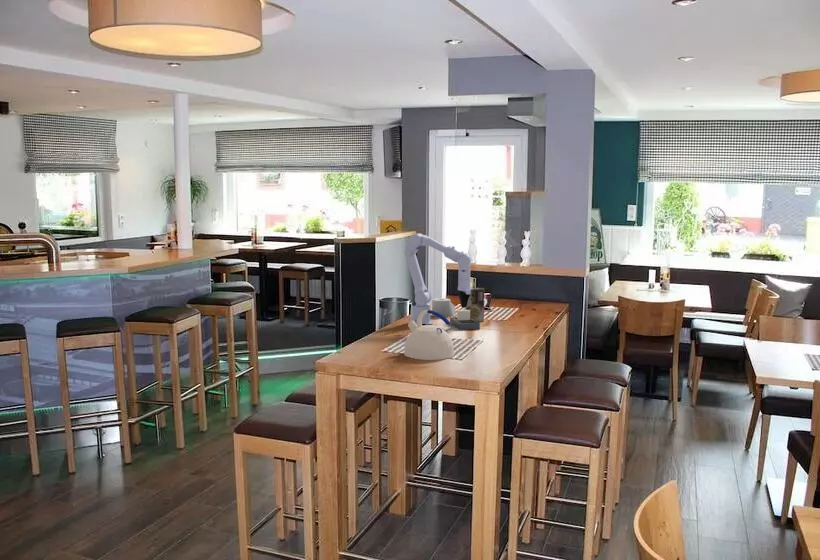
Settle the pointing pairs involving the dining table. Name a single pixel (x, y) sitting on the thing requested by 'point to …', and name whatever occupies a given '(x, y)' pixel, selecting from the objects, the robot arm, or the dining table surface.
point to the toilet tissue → (443, 307)
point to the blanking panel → (463, 314)
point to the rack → (465, 324)
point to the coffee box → (476, 304)
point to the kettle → (428, 340)
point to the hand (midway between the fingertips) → (463, 307)
